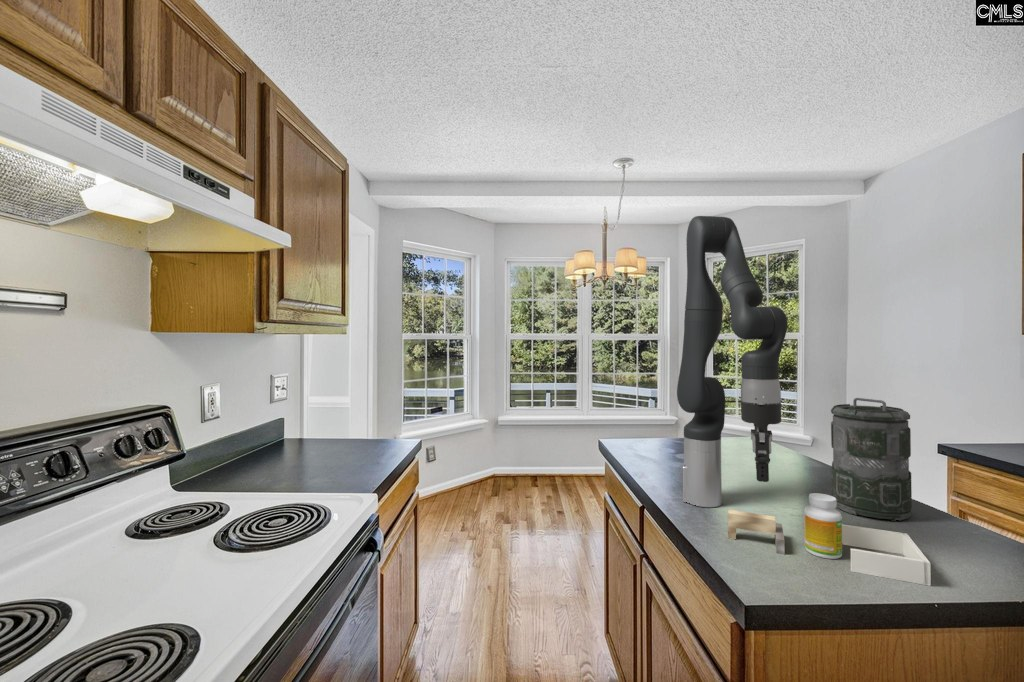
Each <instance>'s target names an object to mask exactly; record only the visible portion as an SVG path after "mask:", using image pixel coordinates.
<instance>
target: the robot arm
mask: <svg viewBox="0 0 1024 682" xmlns="http://www.w3.org/2000/svg"><path fill="white" fill-rule="evenodd" d="M706 253H707V254H708V253H709V254H721V255H722V256H723V257H724V259H725V263H724V264H723V265H724V266H723V267H722V269H721V270H722V271H721V273H720V279H719V281H720V286H721V289H722V290H723V293H724V296H725V297H726V299H727V301H728V303H729V311H730V320H731V321H730V323H731V324H730V325H731V330H732V332H733V334H735V336H737V337H738V338H740V339H741V340H744V341H745V340H747V341H748V340H754V341H755V340H762V341H761V342H760V345H759V347H758V348H756V349H754V350H749V351H746V352H744V353H743V354H742V355H741V383H740V384H741V385H740V410H741V411H740V414H741V416H740V417H741V420H742V421H743V422H744V423H748V424H753V426H754V428H751V429H750V440H751V441H752V445H751V446H752V453H754V454H755V456H754V461H755V469H756V481H758V482H764V483H768V482H769V480H770V474H769V473H770V470H769V469H770V468H769V464H770V462H771V458H770V455H771V454H772V442H773V432H772V430H771V429H770V430H769V429H768V428H769V427H768V426H769V425H779V424H781V422H782V394H781V393H782V392H781V385H780V371H779V370H780V369H779V366H780V364H779V362H780V356H781V352H782V349H783V345H784V342H785V338H786V336H787V333H788V332H787V331H788V323H789V322H788V318H787V315H786V312H784V311H783V309H781V308H780V307H778V306H759V305H760V304H761V303H762V302H763V299H764V294H763V291H762V288H761V286H760V285H759V283H758V281H757V280H756V278H755V276H754V274H753V273H752V270H751V268H750V266H749V264H748V260H747V258H746V255H745V254H746V253H745V249H744V247H743V243H742V239H741V237H740V233H739V229H738V228H737V224H736V223H735V221H734V220H733V219H731V218H730V217H726V216H717V215H716V216H713V215H709V216H708V215H697V216H694V217H693V218H691V220H690V222H689V223H688V226H687V232H686V268H687V269H686V273H687V274H686V277H687V279H686V292H685V293H686V294H685V295H686V296H685V303H684V319H683V320H684V321H683V328H684V329H683V341H682V354H681V361H680V362H681V364H680V368H679V375H678V380H677V386H676V387H677V388H676V396H677V402H678V405H679V406H680V408H681V409H682V411H684V412H686V413H690V414H693V415H694V416H693V417H692V419H691V420H690V421H689V422H688V423H686V424H685V425H684V427H683V466H682V502H683V503H686V502H687V504H689V503H690V505H693V506H695V505H696V507H702V508H717V507H720V506H721V505H722V504H723V503H722V502H723V501H722V498H723V495H722V493H723V492H722V491H723V490H722V489H723V488H722V486H723V485H722V431H723V430H724V427H725V421H726V420H725V415H726V413H725V412H726V394H725V389H724V386H723V384H722V383H721V381H719V380H718V379H717V378H715V377H713V376H706V366H707V361H708V358H709V355H710V354H711V351H712V350H713V348H714V345H716V343H717V340H718V339H719V336H720V333H721V331H722V327H723V315H724V313H723V312H724V303H723V300H722V297H721V295H720V293H719V291H718V290H717V288H716V286H715V285H714V282H713V281H712V279H711V277H710V274H709V273H708V270H707V262H706V260H707V259H706Z"/></svg>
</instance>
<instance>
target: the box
mask: <svg viewBox="0 0 1024 682" xmlns="http://www.w3.org/2000/svg"><path fill="white" fill-rule="evenodd" d="M843 545H845V546H850V547H854V548H850V571H851V572H852V573H857V574H863V575H870V576H875V577H880V578H885V579H891V580H894V581H895V580H897V581H901V582H907V583H913V584H918V585H923V586H929V587H931V585H932V584H931V582H932V579H931V575H932V574H931V562H930V560H928V558H927V557H926V555H924V553H923V552H922V550H921V549H920V548H919V547H918V546H917V544H916V542H914V541H913V539H912V538H911V537H910V535H909V534H908V533H905V532H898V531H892V530H886V529H878V528H872V527H866V526H865V527H864V526H859V525H858V526H856V525H852V524H849V525H848V524H843V523H842V546H843ZM855 547H857V548H855ZM858 548H862V549H858ZM864 549H869V550H874V551H875V552H874V551H869V550H864ZM876 551H880V552H876ZM882 552H887V553H882ZM888 553H893V554H888ZM894 554H898V555H894ZM900 555H903V556H900Z"/></svg>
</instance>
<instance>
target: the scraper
mask: <svg viewBox="0 0 1024 682" xmlns="http://www.w3.org/2000/svg"><path fill="white" fill-rule="evenodd" d="M727 510H728V511H727V538H728V537H729V538H734V539H733V540H735V539H736V540H737V529H739V530H744V531H751V532H756V533H757V532H758V533H762V534H766V535H767V534H768V535H774V536H775V537H774V536H773V537H774V544H775V553H776V554H779V555H785V554H786V553H785V536H784V528H783V524H782V523H778V522H777V520H776V516H774V515H766V514H759V513H754V512H747V511H741V510H736V509H735V510H734V509H727ZM729 538H728V539H729Z"/></svg>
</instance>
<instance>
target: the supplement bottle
mask: <svg viewBox="0 0 1024 682" xmlns="http://www.w3.org/2000/svg"><path fill="white" fill-rule="evenodd" d="M808 503H809V505H807V506H806V507H805V508H804V548H805V550H806V551H807V552H808V553H809V554H811V555H813V556H816V557H818V558H821V559H822V558H823V559H829V560H830V559H831V560H836V559H837V560H838V559H840V558H841V557H842V556H843V545H842V524H843V518H842V517H843V516H842V514H841V512H840V511H839V510H838V509H836V508H838V507H837V501H836V498H835V497H833V496H832V495H830V494H825V493H818V492H816V493H815V492H814V493H813V492H812V493H809V494H808Z"/></svg>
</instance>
